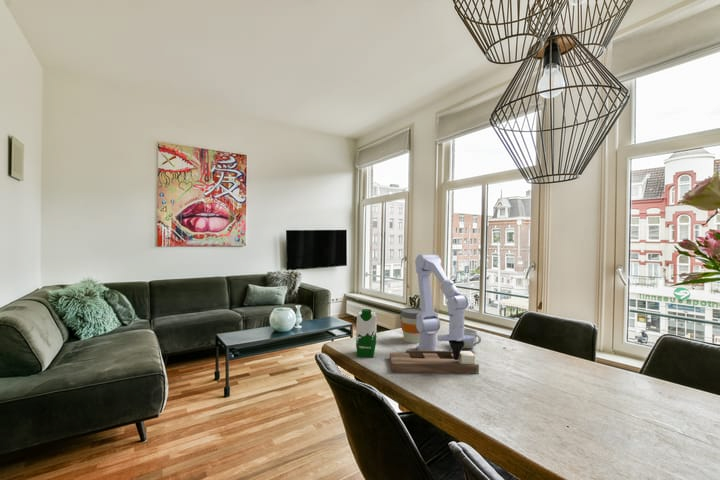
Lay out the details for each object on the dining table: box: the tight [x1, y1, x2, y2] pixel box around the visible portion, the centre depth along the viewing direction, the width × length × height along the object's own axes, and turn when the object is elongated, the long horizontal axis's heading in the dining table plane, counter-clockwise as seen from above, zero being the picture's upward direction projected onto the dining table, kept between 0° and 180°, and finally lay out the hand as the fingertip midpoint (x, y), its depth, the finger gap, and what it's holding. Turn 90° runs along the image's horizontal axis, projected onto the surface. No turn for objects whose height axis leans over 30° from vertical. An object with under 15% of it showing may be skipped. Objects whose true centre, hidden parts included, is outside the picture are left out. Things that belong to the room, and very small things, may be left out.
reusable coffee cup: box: [400, 307, 426, 344], centre depth 166 cm, size 13×12×15 cm
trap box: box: [389, 349, 480, 374], centre depth 135 cm, size 15×34×3 cm, turn 91°
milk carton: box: [355, 308, 378, 358], centre depth 145 cm, size 9×9×20 cm
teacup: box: [462, 327, 482, 350], centre depth 156 cm, size 14×11×8 cm
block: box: [458, 350, 476, 364], centre depth 131 cm, size 5×5×4 cm
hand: (455, 359), depth 132 cm, fingers closed
